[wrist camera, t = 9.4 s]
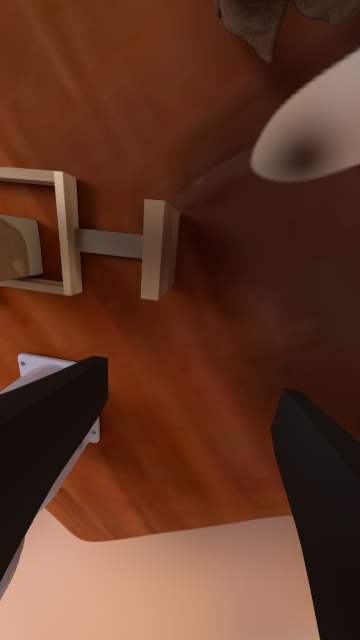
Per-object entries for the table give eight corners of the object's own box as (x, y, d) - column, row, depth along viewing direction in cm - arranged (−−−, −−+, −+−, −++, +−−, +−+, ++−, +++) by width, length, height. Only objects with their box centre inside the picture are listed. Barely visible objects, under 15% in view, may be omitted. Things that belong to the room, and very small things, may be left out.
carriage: (171, 304, 18) (156, 327, 13) (-27, 276, 20) (-102, 287, 15) (182, 186, 15) (167, 161, 10) (-51, 167, 17) (-154, 139, 12)
